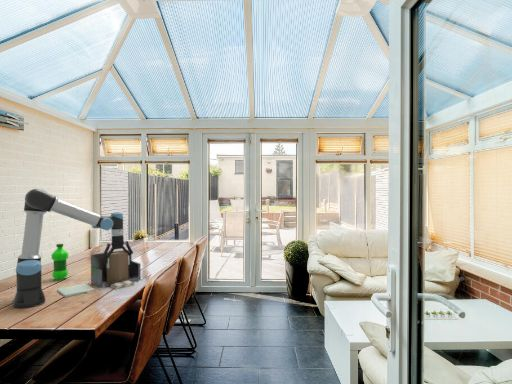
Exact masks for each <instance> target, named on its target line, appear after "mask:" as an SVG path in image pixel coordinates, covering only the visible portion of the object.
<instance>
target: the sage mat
mask: <svg viewBox="0 0 512 384" xmlns="http://www.w3.org/2000/svg"><path fill="white" fill-rule="evenodd" d="M94 290H96V289H95V288H93V287H92V286H90V285H89V284H87V283H83V284H77V285H72V286H65V287H60V288H57V289H56V292H58V293H59V294H60V295H61V296H63V297H64V298H69V297H74V296H79V295H84V294H87V293H88V292H90V291H94Z"/></svg>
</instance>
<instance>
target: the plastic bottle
mask: <svg viewBox="0 0 512 384" xmlns="http://www.w3.org/2000/svg"><path fill="white" fill-rule="evenodd" d="M63 247H64V243H57V244H56V249H55V250H54V251H53V252H52V253H51V260H53V271H52V274H51V276H52V277H53V278H54V279H55V280H56V281H59V280H61V279H62V280H65V278H66V277H68V274H69V271H68V269H67V259H69V253H68V251H67V250H65V249H64V248H63Z"/></svg>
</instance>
